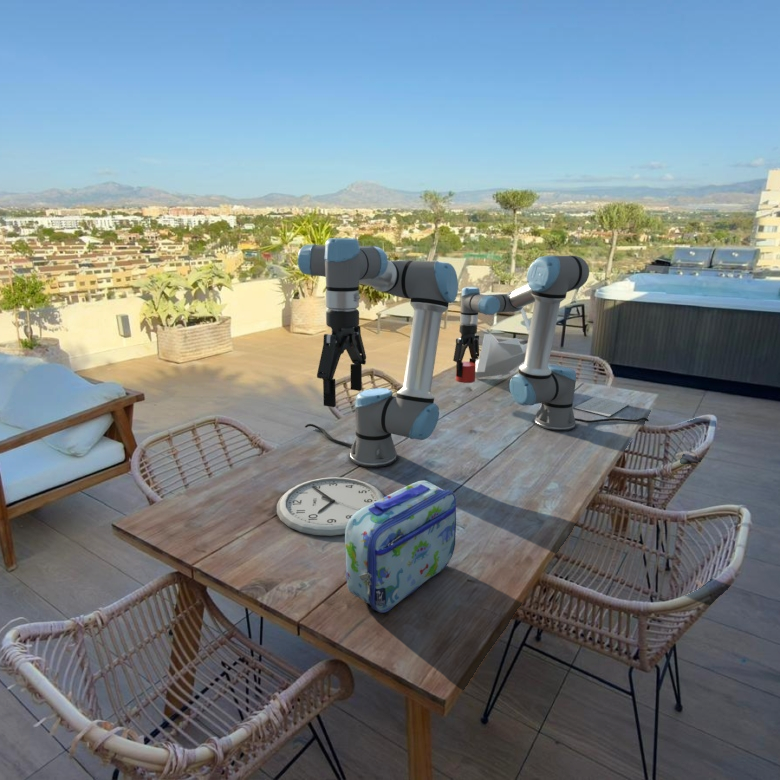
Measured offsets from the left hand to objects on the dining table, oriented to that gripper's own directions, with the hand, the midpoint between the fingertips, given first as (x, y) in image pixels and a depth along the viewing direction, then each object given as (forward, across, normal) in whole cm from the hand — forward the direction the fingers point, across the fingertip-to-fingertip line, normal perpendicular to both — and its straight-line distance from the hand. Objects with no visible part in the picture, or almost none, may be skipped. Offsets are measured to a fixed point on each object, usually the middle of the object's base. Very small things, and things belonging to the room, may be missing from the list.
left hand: (343, 397), depth 125 cm
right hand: (+23, +113, -1) cm, 115 cm away
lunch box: (+34, -17, -23) cm, 44 cm away
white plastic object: (+34, +143, -16) cm, 148 cm away
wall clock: (+34, +6, +7) cm, 35 cm away
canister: (+25, +113, -1) cm, 116 cm away
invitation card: (+34, +127, -59) cm, 144 cm away
